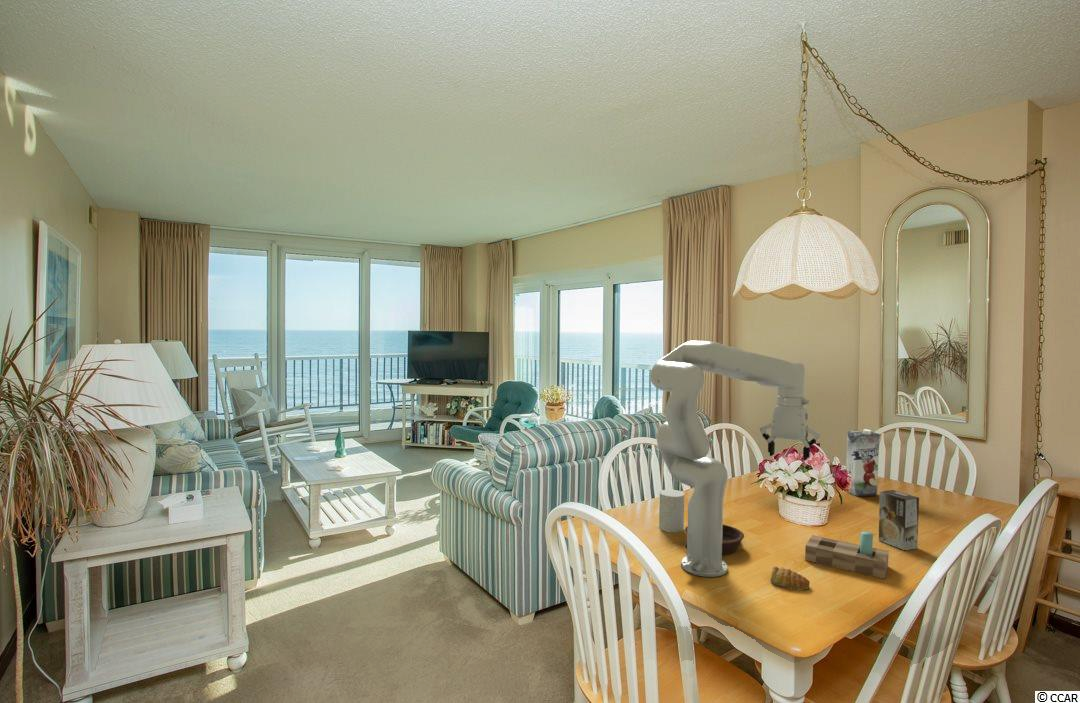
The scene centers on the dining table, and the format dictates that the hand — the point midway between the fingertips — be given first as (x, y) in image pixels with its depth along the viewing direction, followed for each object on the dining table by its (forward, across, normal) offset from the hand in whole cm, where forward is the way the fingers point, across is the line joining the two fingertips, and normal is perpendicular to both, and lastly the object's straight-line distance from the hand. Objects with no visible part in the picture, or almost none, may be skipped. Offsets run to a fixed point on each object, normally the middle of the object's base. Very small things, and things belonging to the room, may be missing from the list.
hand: (788, 457), depth 172 cm
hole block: (+28, -17, +2) cm, 33 cm away
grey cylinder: (+28, +35, +6) cm, 46 cm away
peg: (+28, -22, +2) cm, 36 cm away
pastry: (+29, -6, +26) cm, 39 cm away
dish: (+29, +18, +13) cm, 36 cm away
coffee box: (+28, -28, -24) cm, 47 cm away
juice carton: (+28, -12, -78) cm, 84 cm away
